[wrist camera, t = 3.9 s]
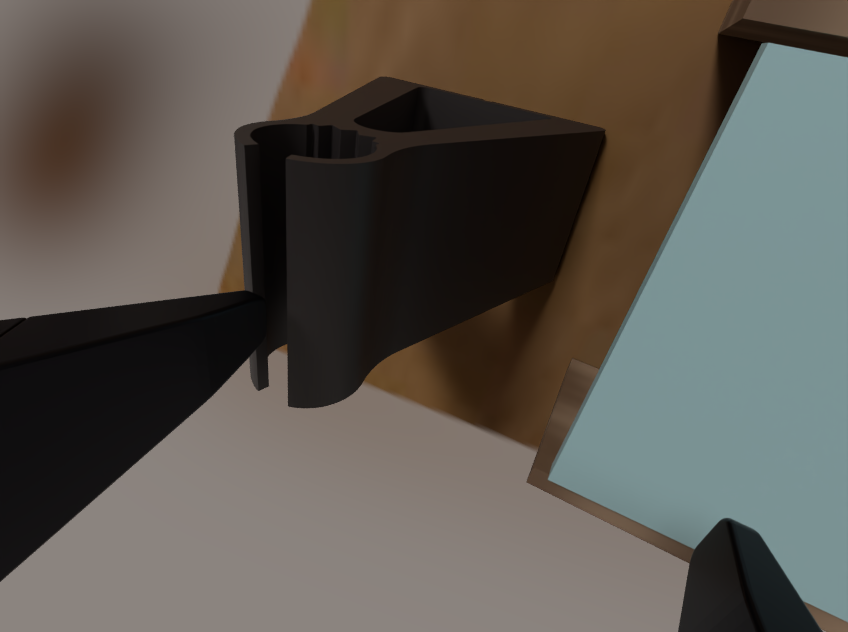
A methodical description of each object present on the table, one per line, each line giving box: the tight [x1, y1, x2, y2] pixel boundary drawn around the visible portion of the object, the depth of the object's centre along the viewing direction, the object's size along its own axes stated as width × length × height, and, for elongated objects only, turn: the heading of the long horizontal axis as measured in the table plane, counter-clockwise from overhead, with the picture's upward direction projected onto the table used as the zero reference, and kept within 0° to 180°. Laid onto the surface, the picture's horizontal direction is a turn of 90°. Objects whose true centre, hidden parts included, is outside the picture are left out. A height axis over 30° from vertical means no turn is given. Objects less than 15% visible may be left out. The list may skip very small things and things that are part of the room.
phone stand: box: [234, 77, 605, 408], centre depth 14 cm, size 9×6×12 cm, turn 78°
